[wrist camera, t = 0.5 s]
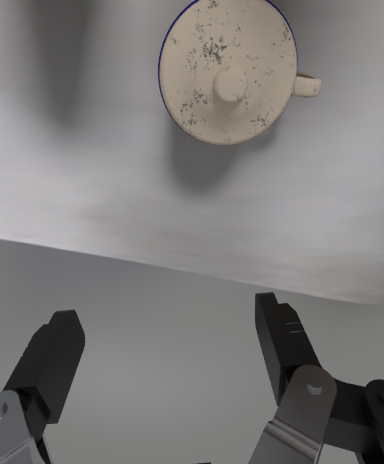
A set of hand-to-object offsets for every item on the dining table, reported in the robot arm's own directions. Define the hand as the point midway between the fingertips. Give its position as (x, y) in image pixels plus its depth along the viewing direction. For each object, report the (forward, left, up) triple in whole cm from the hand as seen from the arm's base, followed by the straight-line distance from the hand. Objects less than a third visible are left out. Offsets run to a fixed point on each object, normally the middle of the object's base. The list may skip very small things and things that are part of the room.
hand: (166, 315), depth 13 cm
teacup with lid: (-9, -1, -22) cm, 24 cm away
